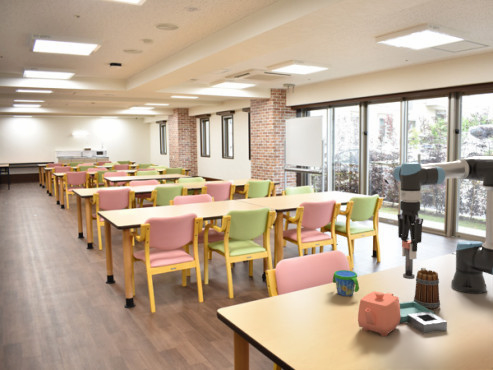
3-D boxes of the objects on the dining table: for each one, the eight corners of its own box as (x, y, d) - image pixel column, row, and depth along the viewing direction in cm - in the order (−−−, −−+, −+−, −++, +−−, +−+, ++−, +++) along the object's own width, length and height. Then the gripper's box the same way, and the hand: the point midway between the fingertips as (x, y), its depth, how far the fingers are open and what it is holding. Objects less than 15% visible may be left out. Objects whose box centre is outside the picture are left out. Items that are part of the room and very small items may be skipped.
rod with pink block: (400, 276, 171) (401, 240, 169) (410, 275, 172) (410, 239, 170) (407, 279, 167) (408, 243, 165) (416, 278, 168) (417, 242, 166)
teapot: (382, 345, 145) (382, 306, 144) (349, 334, 154) (350, 297, 152) (406, 324, 162) (406, 289, 160) (375, 316, 170) (375, 282, 169)
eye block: (428, 319, 166) (429, 311, 165) (446, 330, 156) (446, 321, 156) (407, 322, 163) (407, 314, 163) (423, 333, 153) (424, 324, 153)
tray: (413, 306, 179) (413, 301, 179) (434, 318, 167) (434, 312, 166) (381, 310, 175) (381, 305, 175) (399, 323, 163) (399, 317, 163)
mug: (442, 311, 174) (443, 276, 172) (416, 309, 176) (417, 275, 175) (433, 298, 189) (434, 266, 188) (409, 296, 191) (410, 265, 190)
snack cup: (365, 297, 191) (365, 276, 190) (346, 301, 187) (346, 279, 186) (344, 287, 205) (344, 267, 204) (326, 290, 201) (326, 270, 200)
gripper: (389, 198, 174) (388, 253, 176) (416, 204, 157) (414, 263, 159) (405, 197, 175) (404, 251, 178) (432, 203, 159) (431, 262, 161)
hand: (409, 257), depth 168 cm, fingers closed on rod with pink block, 4 cm apart
